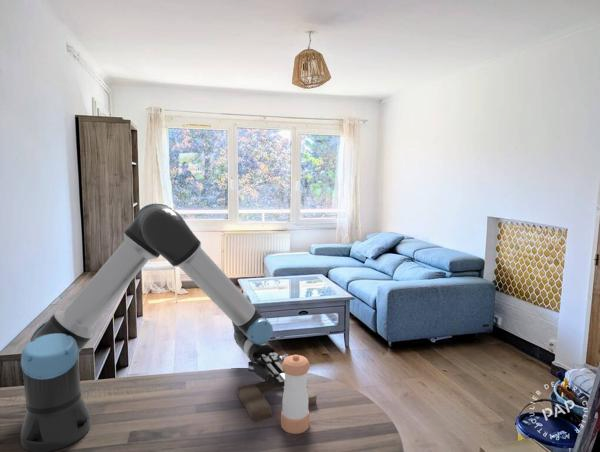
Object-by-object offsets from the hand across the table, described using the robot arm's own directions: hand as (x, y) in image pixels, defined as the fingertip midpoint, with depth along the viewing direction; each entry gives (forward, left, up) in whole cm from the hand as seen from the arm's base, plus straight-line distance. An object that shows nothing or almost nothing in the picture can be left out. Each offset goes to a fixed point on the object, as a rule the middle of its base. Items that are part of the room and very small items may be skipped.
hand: (291, 389), depth 111 cm
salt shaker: (+3, -1, -8) cm, 9 cm away
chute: (-8, +1, -8) cm, 11 cm away
